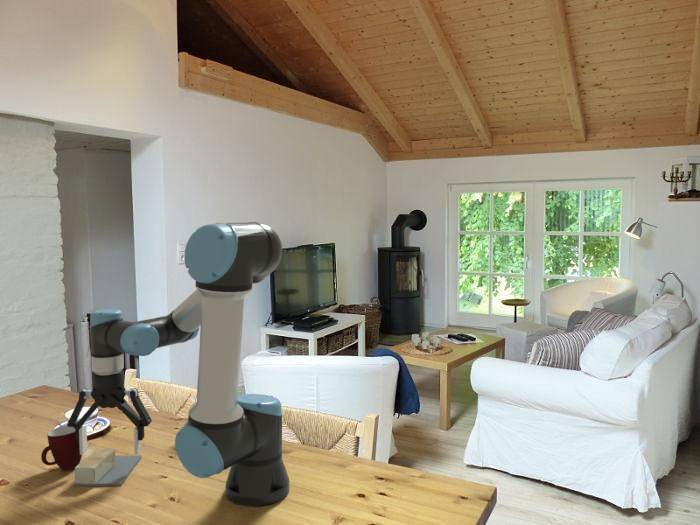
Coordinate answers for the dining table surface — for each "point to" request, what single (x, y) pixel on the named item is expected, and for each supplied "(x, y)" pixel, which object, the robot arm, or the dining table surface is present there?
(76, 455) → the mug
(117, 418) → the dining table surface
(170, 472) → the dining table surface
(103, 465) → the box
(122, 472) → the mat
